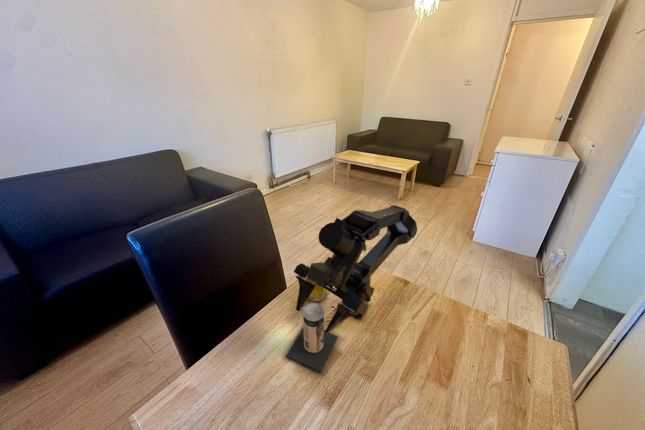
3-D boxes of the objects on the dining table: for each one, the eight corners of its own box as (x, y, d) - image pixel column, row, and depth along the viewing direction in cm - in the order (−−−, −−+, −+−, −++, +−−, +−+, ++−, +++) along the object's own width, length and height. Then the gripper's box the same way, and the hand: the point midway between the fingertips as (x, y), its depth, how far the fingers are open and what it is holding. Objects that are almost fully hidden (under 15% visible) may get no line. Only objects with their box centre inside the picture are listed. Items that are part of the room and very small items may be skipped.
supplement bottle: (328, 298, 78) (329, 271, 73) (311, 304, 76) (311, 276, 71) (320, 286, 83) (320, 260, 78) (304, 291, 80) (303, 265, 76)
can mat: (306, 325, 69) (306, 323, 69) (337, 337, 66) (337, 336, 66) (286, 356, 61) (286, 355, 61) (320, 373, 58) (321, 371, 58)
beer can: (323, 354, 61) (324, 317, 56) (303, 354, 61) (302, 317, 56) (323, 336, 66) (324, 301, 60) (304, 336, 66) (303, 301, 60)
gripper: (298, 234, 60) (263, 295, 58) (365, 269, 49) (326, 346, 47) (320, 248, 69) (291, 302, 67) (382, 281, 58) (349, 346, 56)
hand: (311, 321), depth 59 cm, fingers open, 9 cm apart
